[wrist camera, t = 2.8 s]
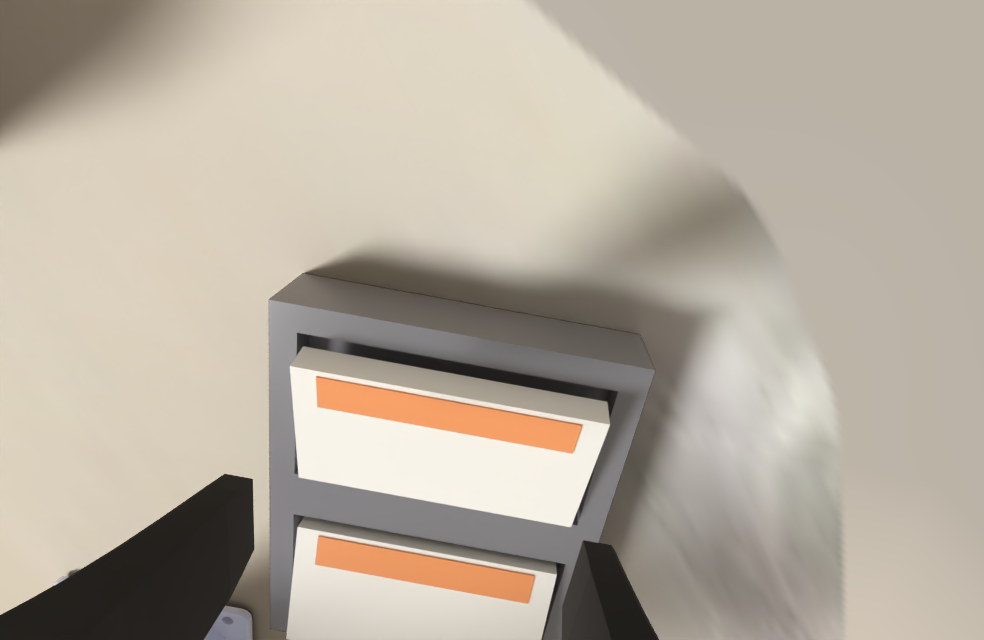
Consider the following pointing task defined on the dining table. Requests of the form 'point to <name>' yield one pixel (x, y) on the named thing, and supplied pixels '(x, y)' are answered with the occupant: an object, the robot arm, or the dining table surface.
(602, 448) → the grey divided tray
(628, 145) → the dining table surface
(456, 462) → the rocker
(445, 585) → the orange-striped cream panel
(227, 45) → the dining table surface
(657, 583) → the dining table surface
